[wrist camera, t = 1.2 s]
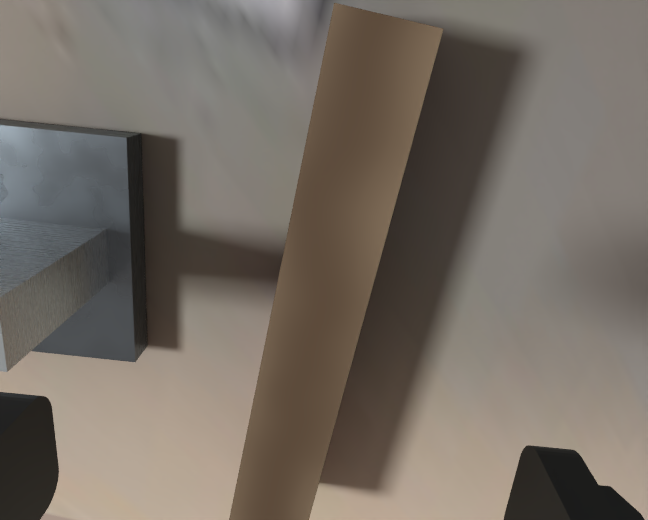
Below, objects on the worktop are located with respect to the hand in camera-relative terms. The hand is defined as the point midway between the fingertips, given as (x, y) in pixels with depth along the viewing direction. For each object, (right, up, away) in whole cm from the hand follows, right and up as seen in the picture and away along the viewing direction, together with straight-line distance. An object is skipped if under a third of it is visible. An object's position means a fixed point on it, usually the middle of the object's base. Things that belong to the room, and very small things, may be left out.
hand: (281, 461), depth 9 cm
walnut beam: (+1, +2, +15) cm, 15 cm away
